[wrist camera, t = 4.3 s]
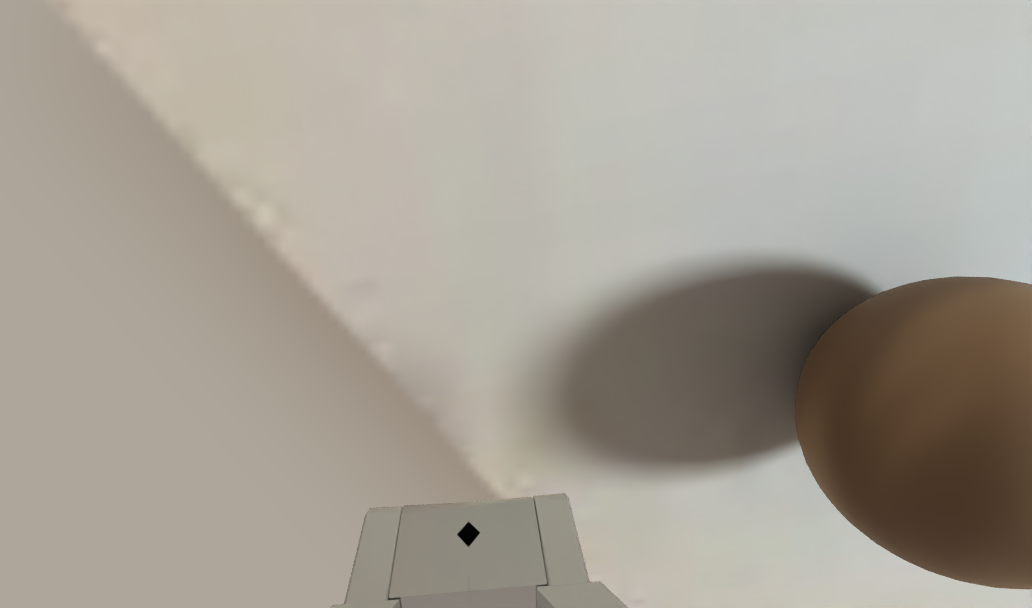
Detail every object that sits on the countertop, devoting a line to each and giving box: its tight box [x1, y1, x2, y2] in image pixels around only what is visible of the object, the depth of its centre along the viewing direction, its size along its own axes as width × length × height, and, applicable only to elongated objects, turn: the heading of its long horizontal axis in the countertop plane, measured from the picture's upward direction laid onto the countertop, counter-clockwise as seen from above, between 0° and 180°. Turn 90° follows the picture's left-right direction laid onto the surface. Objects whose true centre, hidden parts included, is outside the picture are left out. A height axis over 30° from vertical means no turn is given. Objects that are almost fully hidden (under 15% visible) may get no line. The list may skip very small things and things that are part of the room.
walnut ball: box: [795, 277, 1032, 589], centre depth 10 cm, size 5×5×5 cm
